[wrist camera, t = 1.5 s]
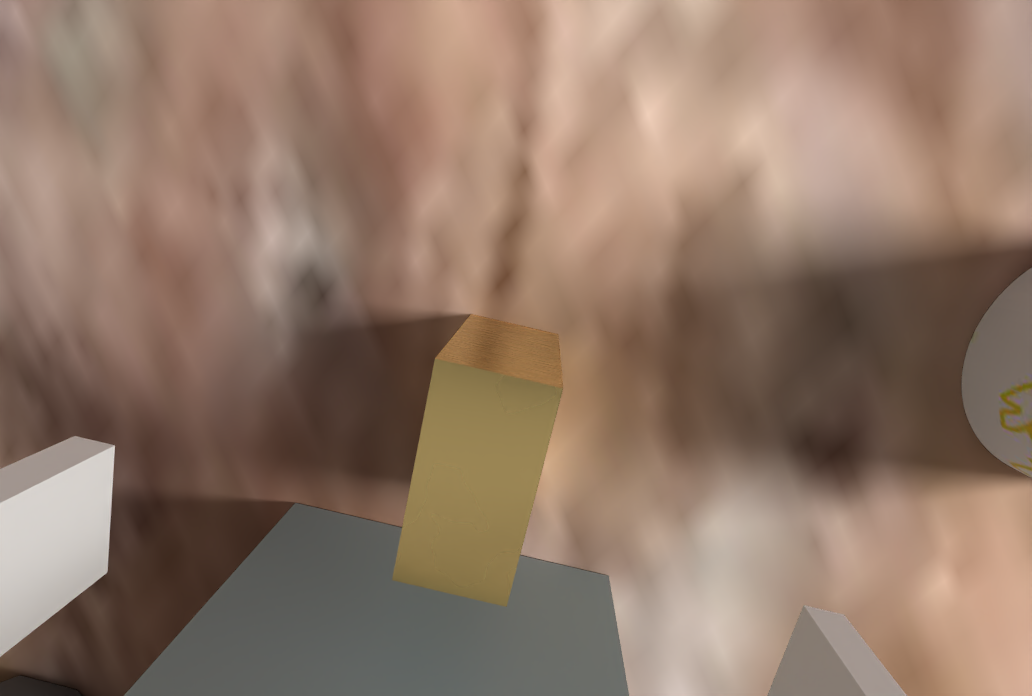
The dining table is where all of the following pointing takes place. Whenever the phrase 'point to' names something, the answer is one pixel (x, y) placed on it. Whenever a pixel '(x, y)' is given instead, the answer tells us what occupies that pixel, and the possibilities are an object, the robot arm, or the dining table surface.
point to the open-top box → (386, 626)
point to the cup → (1003, 377)
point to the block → (479, 459)
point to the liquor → (34, 688)
